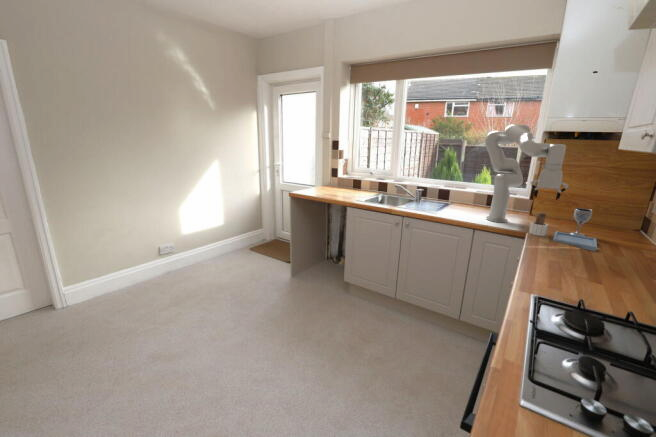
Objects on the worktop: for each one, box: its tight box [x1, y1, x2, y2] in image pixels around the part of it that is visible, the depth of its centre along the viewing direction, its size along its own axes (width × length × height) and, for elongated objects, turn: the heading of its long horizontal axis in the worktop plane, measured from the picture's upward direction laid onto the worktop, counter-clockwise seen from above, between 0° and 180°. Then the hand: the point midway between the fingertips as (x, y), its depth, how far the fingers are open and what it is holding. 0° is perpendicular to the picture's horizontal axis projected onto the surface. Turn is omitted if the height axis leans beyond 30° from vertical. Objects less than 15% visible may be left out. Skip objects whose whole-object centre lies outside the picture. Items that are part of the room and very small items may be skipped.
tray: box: [552, 230, 598, 252], centre depth 164 cm, size 18×18×2 cm
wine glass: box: [569, 207, 593, 237], centre depth 177 cm, size 8×8×15 cm
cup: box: [528, 221, 549, 237], centre depth 174 cm, size 8×8×7 cm
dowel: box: [534, 212, 547, 225], centre depth 173 cm, size 4×4×12 cm
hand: (546, 198), depth 169 cm, fingers open, 9 cm apart
